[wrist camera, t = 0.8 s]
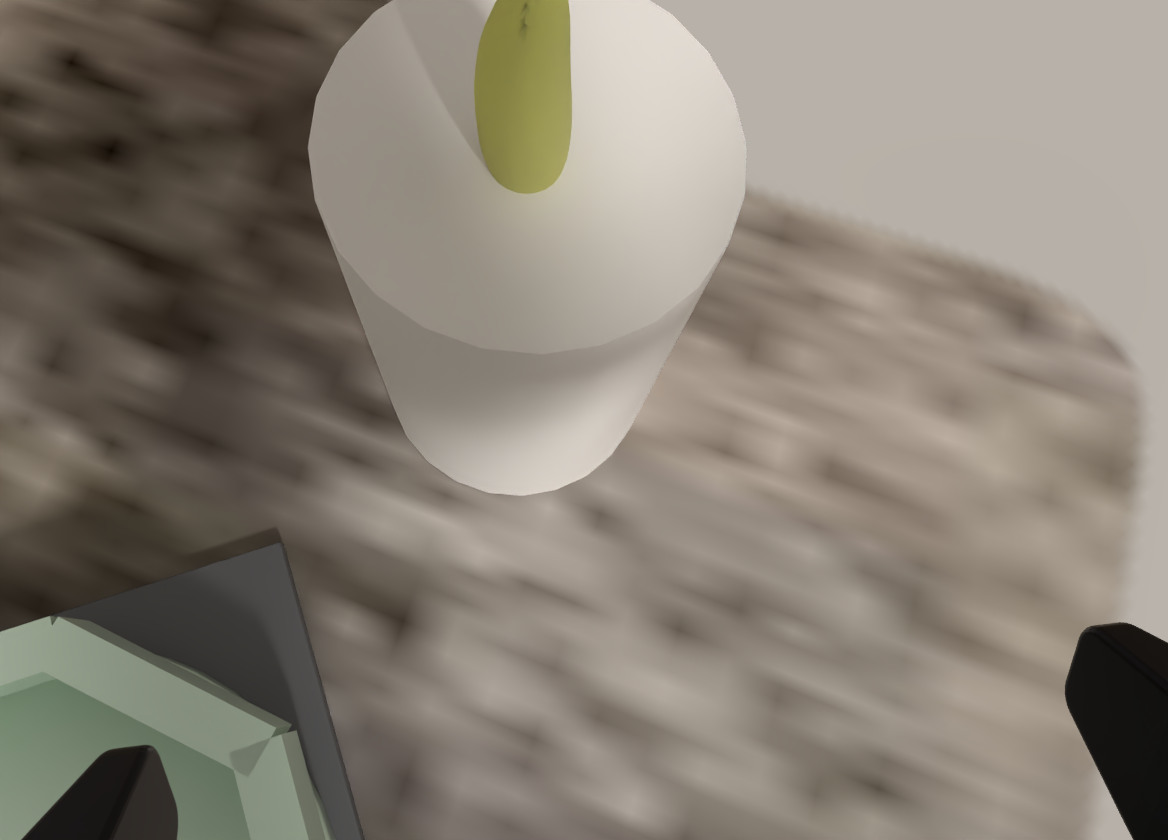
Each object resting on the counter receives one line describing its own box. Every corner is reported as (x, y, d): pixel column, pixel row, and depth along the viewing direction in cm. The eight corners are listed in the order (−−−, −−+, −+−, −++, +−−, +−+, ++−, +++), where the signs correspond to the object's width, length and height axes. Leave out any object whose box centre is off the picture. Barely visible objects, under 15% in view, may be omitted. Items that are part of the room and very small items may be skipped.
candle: (632, 244, 25) (817, -342, 11) (651, 490, 23) (901, 189, 9) (387, 248, 24) (232, -371, 10) (389, 501, 23) (205, 196, 8)
